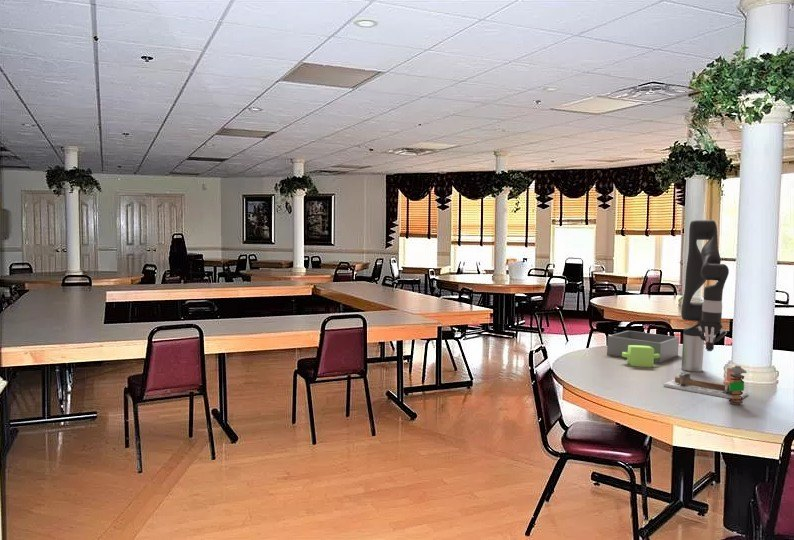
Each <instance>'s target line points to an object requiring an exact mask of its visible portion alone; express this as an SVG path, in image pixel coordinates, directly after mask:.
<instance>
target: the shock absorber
mask: <svg viewBox="0 0 794 540" xmlns="http://www.w3.org/2000/svg"><path fill="white" fill-rule="evenodd" d="M729 371H730V372H733V373H734V374H731V375H730V376H732V377H733V378H731V380H733V383H730V385H729V391H733V392H732V394H731V393H730V395H732V399H730V398H728V399H729V400H728V401H729V402H730V403H731V404H732V405H737V406H739V405H740V404H743V403H744V402H743V401H742V400H743V399H744V398H742V397H741V396H740V395H742V394H743V392H742V391H744V392H745V381H744V379H745V376H744V375H742V374H747V373H748V372H747V370H745V369H744V368H743V367H742V366H741V365H735V366H734V367H733V368H731V369H729ZM740 392H741V394H740ZM740 397H741V399H740Z"/></svg>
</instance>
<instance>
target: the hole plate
mask: <svg viewBox="0 0 794 540" xmlns="http://www.w3.org/2000/svg"><path fill="white" fill-rule="evenodd" d="M663 387H664V388H665V387H666V388H670V389H677V390H681V391H687V392H692V393H698V394H703V395H709V396H713V397H720V398H725V399H732V395H730V393H731V394H732V391H727V392H725V390H720V389H715V388H709V387H703V386H698V385H692V384H686V383H682V385H680V382H675V378H673V379H671V380H669V381H667V382H664V383H663ZM742 392H743V394H742V395H740V396H741V397H742V398H743V399H744V398H746V397H747V396H748V395H749V393H748V391H745V390H744V391H742ZM740 394H741V393H740ZM741 397H740V399H741Z"/></svg>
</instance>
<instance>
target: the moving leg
mask: <svg viewBox="0 0 794 540" xmlns="http://www.w3.org/2000/svg"><path fill="white" fill-rule="evenodd" d="M731 368H733V367H732V366H728V367H726V378H725V379H724V382H723V384H725V392H727V386H729V385H730V383H733V380H731V378H733V377H732V376H730V375H731V374H734V373H733V372H730V371H729V369H731Z"/></svg>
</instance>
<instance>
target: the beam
mask: <svg viewBox="0 0 794 540" xmlns="http://www.w3.org/2000/svg"><path fill="white" fill-rule="evenodd" d="M674 379H675V382H680V385H682V383H686V384H692V385H698V386H703V387H709V388H715V389H720V390H725V384H724V383H717V382H711V381H706V380H700V379H694V378H691V372H690V371H688V372H687V371H682V372H680V374H679V375H677V376H674ZM727 391H729V386H727ZM732 392H733V391H732ZM740 393H741V392H740Z"/></svg>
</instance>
